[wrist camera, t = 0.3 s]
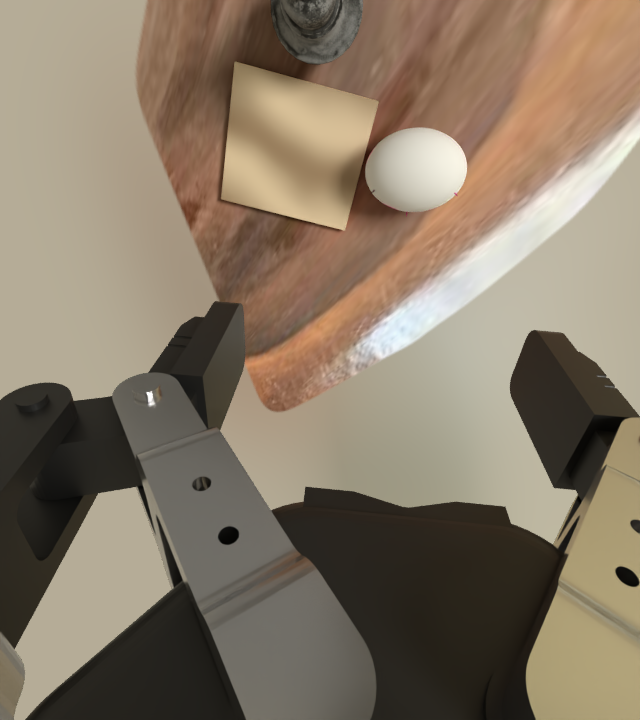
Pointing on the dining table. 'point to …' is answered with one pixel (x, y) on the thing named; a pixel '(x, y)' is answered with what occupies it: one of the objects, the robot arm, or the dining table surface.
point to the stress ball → (416, 169)
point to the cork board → (294, 146)
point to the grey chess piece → (316, 27)
